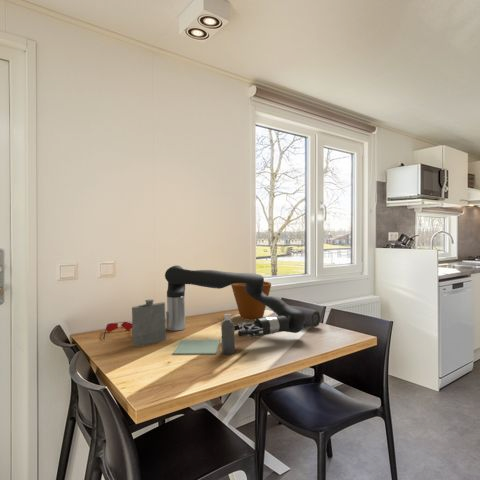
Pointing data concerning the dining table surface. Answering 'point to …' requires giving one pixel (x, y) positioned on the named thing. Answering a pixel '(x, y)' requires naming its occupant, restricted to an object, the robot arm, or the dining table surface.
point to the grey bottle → (228, 336)
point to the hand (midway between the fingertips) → (233, 331)
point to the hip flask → (148, 323)
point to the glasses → (115, 326)
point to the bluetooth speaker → (309, 316)
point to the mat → (197, 347)
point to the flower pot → (249, 301)
